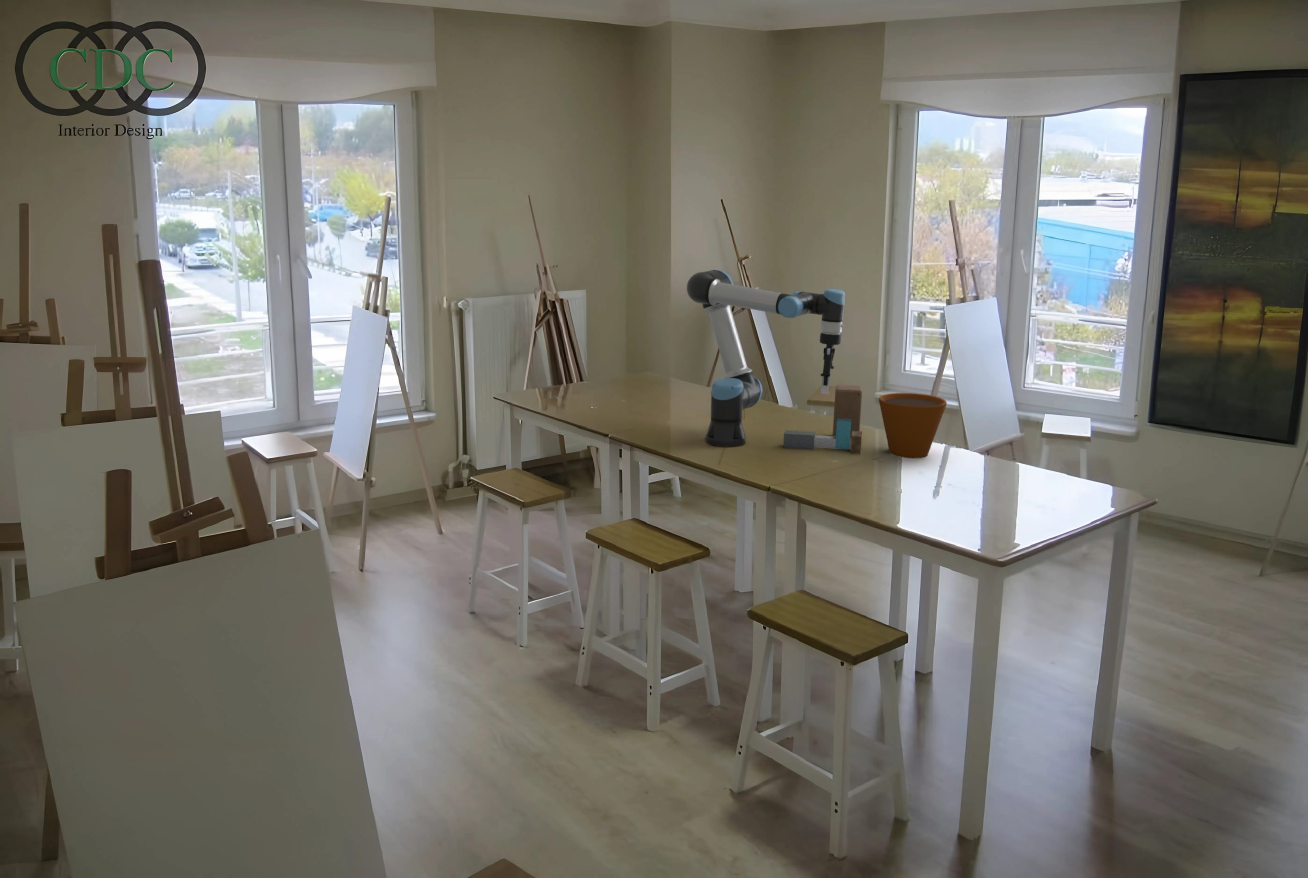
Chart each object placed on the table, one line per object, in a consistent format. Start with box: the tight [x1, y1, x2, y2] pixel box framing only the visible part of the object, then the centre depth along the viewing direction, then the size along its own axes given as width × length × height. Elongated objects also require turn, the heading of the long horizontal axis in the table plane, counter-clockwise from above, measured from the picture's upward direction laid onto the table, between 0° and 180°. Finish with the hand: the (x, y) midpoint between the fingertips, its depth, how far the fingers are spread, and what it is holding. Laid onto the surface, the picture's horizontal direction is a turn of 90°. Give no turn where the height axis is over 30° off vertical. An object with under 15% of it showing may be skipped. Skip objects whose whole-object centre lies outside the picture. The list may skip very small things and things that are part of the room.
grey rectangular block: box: [782, 429, 816, 451], centre depth 387 cm, size 11×6×6 cm, turn 78°
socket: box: [850, 430, 863, 455], centre depth 383 cm, size 4×8×6 cm, turn 168°
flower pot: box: [878, 392, 947, 459], centre depth 380 cm, size 24×24×20 cm
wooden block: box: [832, 384, 863, 438], centre depth 400 cm, size 10×10×20 cm
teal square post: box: [814, 418, 852, 451], centre depth 384 cm, size 19×4×10 cm, turn 78°
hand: (825, 390), depth 383 cm, fingers open, 13 cm apart
